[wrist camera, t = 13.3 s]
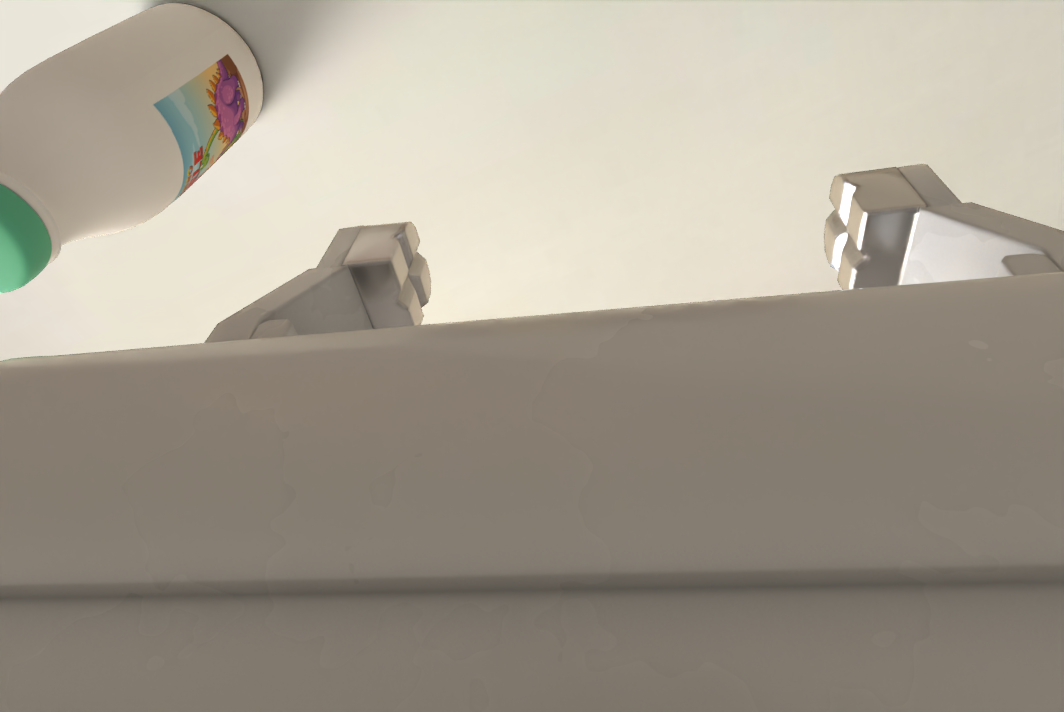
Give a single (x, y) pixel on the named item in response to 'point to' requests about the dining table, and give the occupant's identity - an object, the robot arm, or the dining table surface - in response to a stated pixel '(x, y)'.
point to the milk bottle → (117, 130)
